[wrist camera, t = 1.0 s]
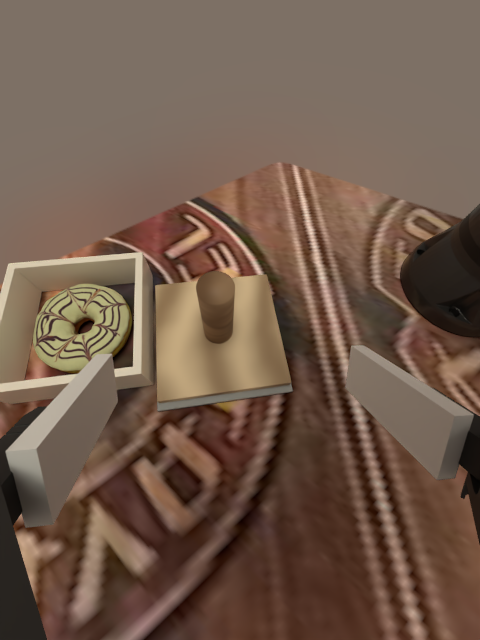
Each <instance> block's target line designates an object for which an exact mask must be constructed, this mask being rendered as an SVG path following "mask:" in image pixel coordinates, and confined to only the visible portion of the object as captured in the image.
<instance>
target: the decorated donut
mask: <svg viewBox="0 0 480 640" xmlns="http://www.w3.org/2000/svg"><path fill="white" fill-rule="evenodd" d="M89 320H91V321H93V322H94V325H93V326H92V329H91V330H90V331H89V332H87V333H84V334H78V330H79V328H80V326H81V325H82V324H83V323H84V322H86V321H89ZM131 326H132V315H131V311H130V308H129V306H128V304H127V302H126V301H125V300H124V298H123V297H122V295H120V294H119V293H117V292H116V291H114V290H112V289H110V288H107V287H103V286H98V285H95V284H79V285H76V286H73V287H69V288H67V289H65V290H63V291H61V292H60V293H58V294H57V295H56V296H54V297H52V298H51V299H49V300H48V301H47V302H46V303H45V304H44V306H43V308H42V310H41V312H40V313H39V314H38V315H37V317H36V322H35V328H34V334H33V345H34V348H35V351H36V353H37V355H38V357H39V358H40V359H41V360H42V361H43V362H45V363H46V364H47V365H49V366H50V367H53V368H56V369H58V370H61V371H63V372H68V373H79V372H80V371H81V370H82V369H83V368H84V367H85V366H86V365H87V364H88V363H89V362H90V361H91V359H92V358H93V357H94V356H95V355H96V354H112V356H113V357H114V356H115V355H116V354H117V353H118V352H119V351H120V350H121V349H122V347H123V346H124V345H125V343H126V342H127V339H128V337H129V334H130V331H131Z"/></svg>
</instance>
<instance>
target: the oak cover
mask: <svg viewBox="0 0 480 640" xmlns="http://www.w3.org/2000/svg"><path fill="white" fill-rule="evenodd" d="M155 289H156V354H157V402H159V403H166V402H173V401H180V400H187V399H194V398H201V397H208V396H215V395H222V394H229V393H236V392H243V391H250V390H257V389H264V388H271V387H278V386H285V385H289V384H290V383H291V378H290V374H289V370H288V365H287V361H286V357H285V352H284V348H283V344H282V339H281V335H280V331H279V326H278V322H277V318H276V313H275V309H274V305H273V300H272V296H271V292H270V287H269V283H268V279H267V275H256V276H246V277H236V278H231V277H230V276H229V275H227V274H226V273H223V272H219V271H212V272H208V273H206V274H204V275H203V276H201V277H200V278H199V280H198V281H195V282H184V283H174V284H164V285H155Z"/></svg>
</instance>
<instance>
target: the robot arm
mask: <svg viewBox="0 0 480 640" xmlns="http://www.w3.org/2000/svg"><path fill="white" fill-rule="evenodd" d="M401 282H402V286H403V289H404V291H405V293H406V295H407V297H408V299H409V300H410V302H411V303H412V305H413V306H414V307H415V308H416V309H417V310H418V311H419V312H420V313H421V314H422V315H423V316H424V317H425V318H427V319H428V320H429V321H431V322H432V323H434V324H435V325H437V326H439V327H440V328H442V329H444V330H447V331H449V332H452V333H455V334H458V335H462V336H469V337H480V204H479V205H478V206H477V207H476V208H475V209H474V210H473V211H472V212H471V213H470V214H469V215H468V216H467V217H466V218H465V219H463V220H462V221H461V222H460V223H458V224H456V225H454V226H453V227H451V228H449V229H447V230H445V231H443V232H441V233H439V234H438V235H436V236H434V237H432V238H430V239H428V240H426V241H424V242H423V243H421V244H420V245H419V246H418V247H416V248H415V249H414V251H413V252H412V253H411V254H410V255H409V256H408V257H407V258H406V259H405V261H404V263H403V265H402V269H401ZM345 388H346V389H347V390H348V391H349V392H350V393H351V394H352V395H353V396H354V397H355V398H356V399H357V400H358V401H359V402H360V403H361V404H362V405H363V406H364V407H365V408H366V409H367V410H368V411H369V412H370V413H371V414H372V415H373V416H374V417H375V418H376V419H377V420H378V421H379V422H380V423H381V424H382V425H383V426H384V427H385V428H386V429H387V430H388V432H389V433H390V434H391V435H392V436H393V437H394V438H395V439H396V440H397V441H398V442H399V443H400V444H401V445H402V446H403V447H404V448H405V449H406V450H407V451H408V452H409V453H410V454H411V455H412V456H413V457H414V458H415V459H416V460H417V461H418V462H419V463H420V464H421V465H422V466H423V467H424V468H425V469H426V470H427V471H428V472H429V473H430V474H431V475H432V476H433V477H434V478H435V479H436V480H443V479H451V478H455V476H456V473H457V470H458V467H459V464H460V465H461V466H462V467H463V468H464V469H466V470H467V471H468V474H467V477H466V480H465V483H464V486H463V489H462V492H461V498H463V499H465V495H467V494H469V498H470V503H471V507H472V512H473V516H474V521H475V525H476V530H477V535H478V539H479V544H480V416H478V415H476V414H475V413H473V412H471V411H470V410H468V409H467V408H465V407H463V406H462V405H460V404H459V403H457V402H456V403H455V401H454V400H452V399H451V398H449V397H446V395H444V394H443V393H441V392H439V391H438V390H436V389H434V388H432V387H429V386H428V385H426V384H424V383H423V382H421V381H420V380H418V379H416V378H415V377H413V376H412V375H410V374H409V373H407V372H405V371H404V370H402V369H401V368H399V367H397V366H396V365H394V364H393V363H391V362H389V361H388V360H386V359H385V358H383V357H381V356H380V355H378V354H377V353H375V352H373V351H372V350H370V349H369V348H367V347H366V346H364V345H357V346H351V352H350V359H349V365H348V372H347V379H346V386H345ZM117 402H118V398H117V390H116V381H115V373H114V364H113V356H112V354H96V355H95V356H94V357H93V358H92V359H91V361H90V362H89V363H88V364H87V365H86V366H85V367H84V368H83V369H82V370H81V371H80V372H79V373H78V374H77V375H76V377H75V378H74V379H73V380H72V381H71V382H70V383H69V384H68V385H67V386H66V387H65V388H64V389H63V390H62V391H61V393H60V394H59V395H58V396H57V397H56V398H55V399H54V400H53V401H52V402H51V403H50V404H49V405H48V406H47V407H38V408H36V409H34V410H33V411H31V412H29V413H28V414H26V415H24V416H23V417H22V418H21V419H20V420H19V421H18V422H17V423H16V424H15V426H14V427H12V428H11V429H10V430H9V431H8V432H7V433H6V435H4V436H3V437H2V438H1V439H0V640H47V638H46V634H45V631H44V628H43V624H42V621H41V618H40V614H39V611H38V608H37V605H36V601H35V598H34V595H33V591H32V588H31V585H30V581H29V578H28V575H27V571H26V568H25V565H24V561H23V558H22V555H21V551H20V548H19V545H18V541H17V538H16V535H15V531H14V528H13V525H14V523H15V522H16V520H17V519H18V517H19V516H20V514H21V513H22V516H23V520H24V524H25V528H26V527H35V526H43V525H52V524H54V522H55V520H56V518H57V516H58V514H59V513H60V511H61V509H62V507H63V505H64V503H65V501H66V499H67V497H68V495H69V493H70V492H71V490H72V488H73V486H74V484H75V482H76V480H77V478H78V476H79V474H80V472H81V471H82V469H83V467H84V465H85V463H86V461H87V459H88V457H89V455H90V453H91V451H92V450H93V448H94V446H95V444H96V442H97V440H98V438H99V436H100V434H101V432H102V431H103V429H104V427H105V425H106V423H107V421H108V419H109V417H110V415H111V413H112V411H113V410H114V408H115V406H116V404H117Z"/></svg>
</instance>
